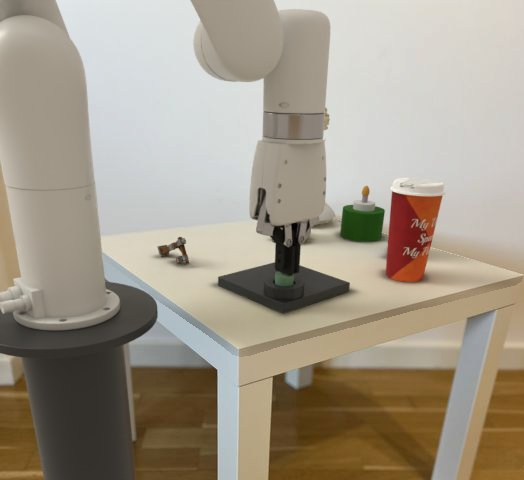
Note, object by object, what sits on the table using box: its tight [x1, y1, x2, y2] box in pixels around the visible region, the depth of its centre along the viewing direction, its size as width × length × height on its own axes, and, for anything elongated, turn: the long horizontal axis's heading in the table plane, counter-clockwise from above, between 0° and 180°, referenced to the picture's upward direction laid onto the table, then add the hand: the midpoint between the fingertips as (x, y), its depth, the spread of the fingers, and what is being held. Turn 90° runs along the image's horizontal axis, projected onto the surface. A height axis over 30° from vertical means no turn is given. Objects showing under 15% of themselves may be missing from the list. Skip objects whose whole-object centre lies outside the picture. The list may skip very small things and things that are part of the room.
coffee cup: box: [385, 177, 446, 283], centre depth 86 cm, size 8×8×15 cm
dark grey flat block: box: [217, 261, 351, 314], centre depth 82 cm, size 14×14×3 cm
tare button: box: [275, 272, 294, 286], centre depth 76 cm, size 3×3×2 cm
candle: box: [339, 185, 386, 243], centre depth 109 cm, size 8×8×10 cm
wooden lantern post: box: [156, 236, 190, 265], centre depth 92 cm, size 2×8×4 cm, turn 39°
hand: (286, 271), depth 75 cm, fingers closed
